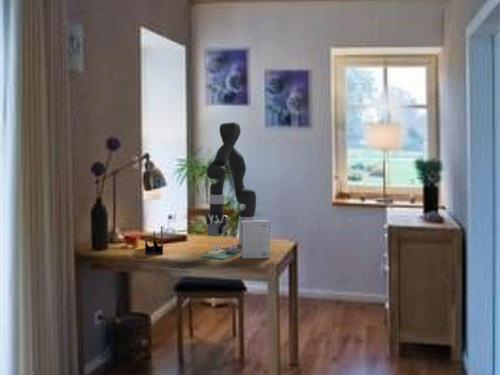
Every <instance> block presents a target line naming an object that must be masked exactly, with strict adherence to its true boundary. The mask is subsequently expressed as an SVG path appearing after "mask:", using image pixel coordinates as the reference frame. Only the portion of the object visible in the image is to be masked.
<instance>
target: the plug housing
mask: <svg viewBox="0 0 500 375" xmlns="http://www.w3.org/2000/svg"><path fill="white" fill-rule="evenodd" d="M225 234H226V226H223V232H222V234H219V224H218V223H217V221H215V223H211V224H208V225H207V236H214V237H216V236H219V235H225Z"/></svg>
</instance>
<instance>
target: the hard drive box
mask: <svg viewBox="0 0 500 375" xmlns="http://www.w3.org/2000/svg"><path fill="white" fill-rule="evenodd" d="M270 230H271V223H270V220H269V219H265V220H263V219H260V220H259V219H257V220H256V219H254V220H247V221H241V235H242V245H241V259H270V258H271V241H270V240H271V233H270V232H271V231H270Z"/></svg>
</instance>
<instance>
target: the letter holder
mask: <svg viewBox="0 0 500 375" xmlns="http://www.w3.org/2000/svg"><path fill="white" fill-rule="evenodd" d="M155 235H156V232H155V230H153V234H152V239H153V245H149V244H148V235H147V234H146V235H145V244H144V248H145V249H144V255H145V256H150V255H151V256H161V255H162V256H163V255H164V239H163V238H164V236H163V235H164V234H163V226H162V225H161V226H160V239H161V241H160V242H161V245H158V243H157V242H158V241H156V237H155Z"/></svg>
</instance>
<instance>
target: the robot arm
mask: <svg viewBox="0 0 500 375" xmlns="http://www.w3.org/2000/svg"><path fill="white" fill-rule="evenodd" d="M241 133H242V132H241V126H240V124H239V123H238V122H226V123H225V122H224V123H221V124H220V125H219V134H220V138H221V141H222V143H223V144H222V145H221V146H220V147H219V148H218V150H217V151H216V154H215V157H214V159H213V160H212V162H211V163H210V164H209V166H208V167H207V170H206V176H207V178H208V179H211V180H218V181H217V182H213V183H211V184H210V186H209V189H210V190H209V213H207V214H205V215H204V216H205V220H206V225H207V226H208V224H211V223H216V222H217V223H218V224H219V234H221V235H223V234H222V232H223V226H225V227H226V226H227V224H228V219H229V216H228V215H225V214H224V185H225V180H226V176H227V169H226V167H225V166H226V165H227V163H228V165H229V170H230V173H231V177H232V181H233V188H234V194H235V199H236V201H237V203H238V204H239V205H244V209H241V210H240V211H238V245H240V246H242V235H241V221H247V220H255V212H256V209H257V206H256V205H257V195H256V192H255V190H253V189H246V188H245V185H244V177H245V174H246V170H247V166H246V161H245V159H244V156H243V155H242V153H241V152H240V151H239V150H238V149H237V148H236V147H235V145H236V143H237V141H238V140H239V137H240V135H241Z"/></svg>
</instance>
